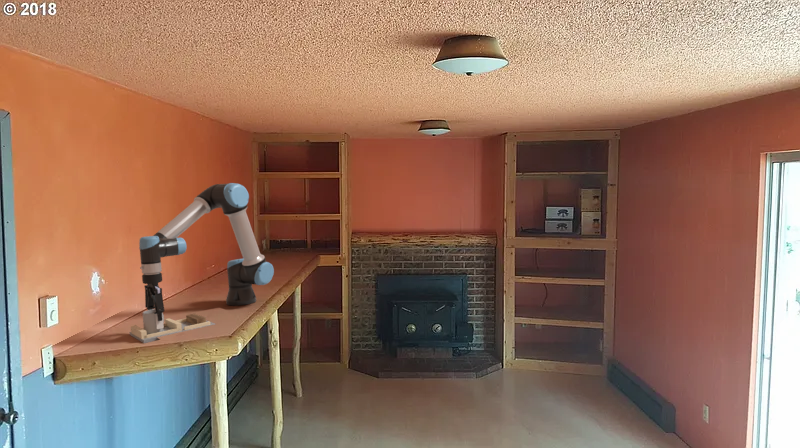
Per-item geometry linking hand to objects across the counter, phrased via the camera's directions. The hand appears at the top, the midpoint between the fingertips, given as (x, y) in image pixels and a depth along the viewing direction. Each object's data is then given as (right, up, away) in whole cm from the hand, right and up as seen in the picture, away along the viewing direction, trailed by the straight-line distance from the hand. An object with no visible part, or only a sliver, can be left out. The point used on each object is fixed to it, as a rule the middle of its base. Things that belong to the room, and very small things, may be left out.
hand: (156, 326), depth 222 cm
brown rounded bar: (+12, -1, +12) cm, 17 cm away
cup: (0, -2, +1) cm, 2 cm away
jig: (+5, -3, +5) cm, 8 cm away
